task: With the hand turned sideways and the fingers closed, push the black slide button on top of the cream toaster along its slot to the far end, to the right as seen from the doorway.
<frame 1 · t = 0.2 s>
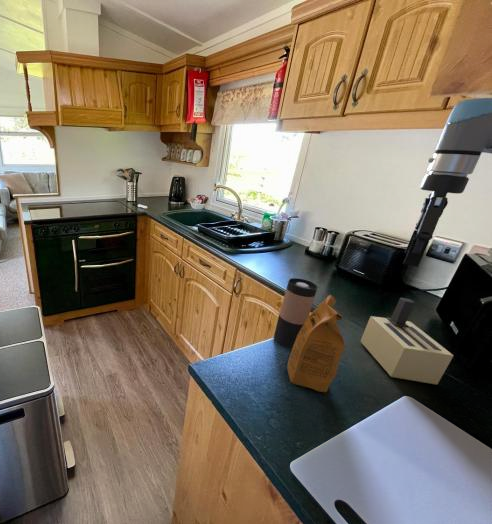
hand: (410, 259, 75), 31 cm above the countertop, tool pointing down, fingers open, 13 cm apart
toaster: (394, 362, 84), on the countertop
coffee package: (306, 376, 76), on the countertop
travel mug: (285, 341, 90), on the countertop
slide button: (402, 311, 83), point 14 cm above the countertop, slide at 0.0 cm
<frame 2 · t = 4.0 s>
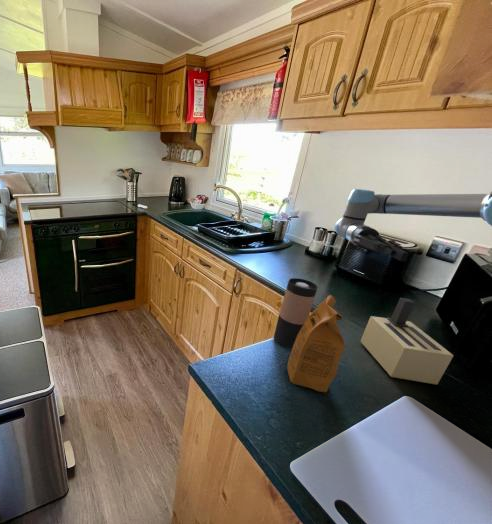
hand: (404, 257, 85), 28 cm above the countertop, tool horizontal, fingers closed
nothing on the countertop moved.
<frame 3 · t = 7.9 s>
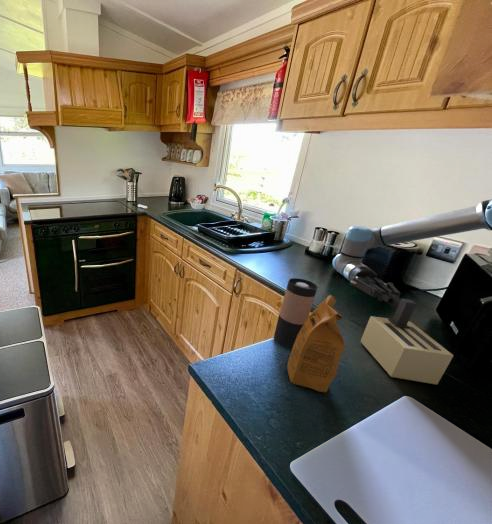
hand: (401, 306, 84), 15 cm above the countertop, tool horizontal, fingers closed
slide button: (403, 312, 83), point 14 cm above the countertop, slide at 0.6 cm, touching gripper
everything else where it was.
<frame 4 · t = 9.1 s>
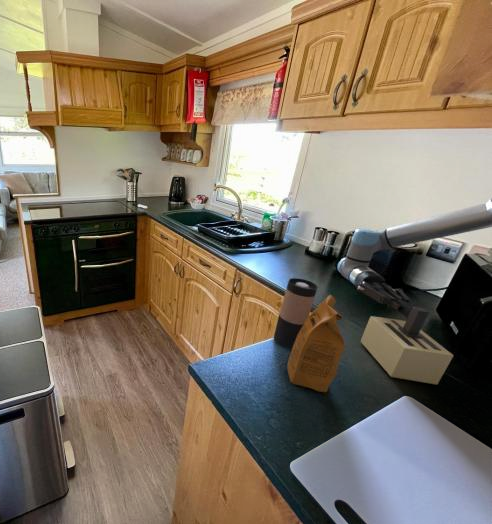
hand: (413, 314, 79), 15 cm above the countertop, tool horizontal, fingers closed
slide button: (415, 321, 78), point 14 cm above the countertop, slide at 5.4 cm, touching gripper
everything else where it was.
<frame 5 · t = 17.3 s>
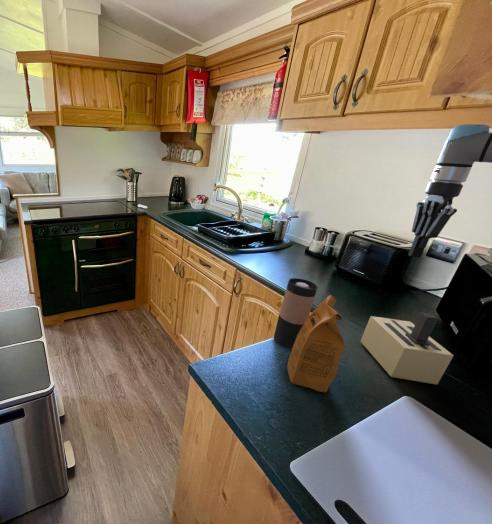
hand: (414, 256, 94), 26 cm above the countertop, tool pointing down, fingers closed
slide button: (423, 328, 75), point 14 cm above the countertop, slide at 8.5 cm
everything else where it was.
at the end: slide button slide at 8.5 cm; the gripper is holding nothing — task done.
